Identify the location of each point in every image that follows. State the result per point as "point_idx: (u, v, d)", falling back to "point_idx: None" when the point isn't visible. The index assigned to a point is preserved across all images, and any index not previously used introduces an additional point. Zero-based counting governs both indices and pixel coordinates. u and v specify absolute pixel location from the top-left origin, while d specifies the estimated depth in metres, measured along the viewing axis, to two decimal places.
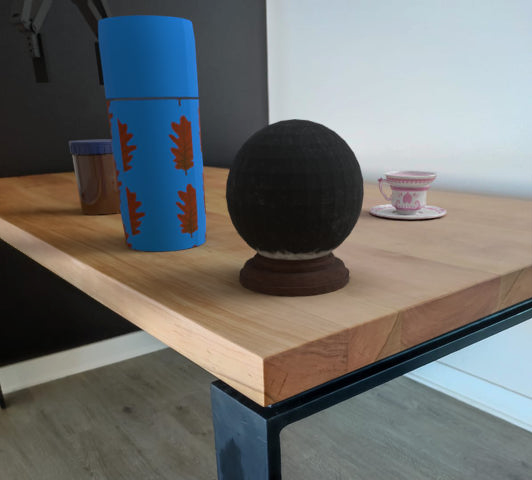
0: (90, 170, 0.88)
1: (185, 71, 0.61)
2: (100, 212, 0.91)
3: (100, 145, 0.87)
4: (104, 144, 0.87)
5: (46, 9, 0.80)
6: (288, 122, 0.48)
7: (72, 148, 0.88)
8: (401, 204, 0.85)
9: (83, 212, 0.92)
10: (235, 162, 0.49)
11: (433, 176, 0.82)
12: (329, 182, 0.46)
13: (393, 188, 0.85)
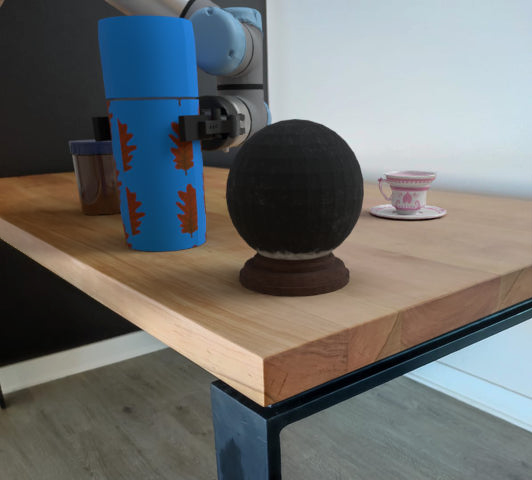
0: (90, 170, 0.88)
1: (185, 70, 0.61)
2: (100, 212, 0.91)
3: (100, 145, 0.87)
4: (104, 144, 0.87)
5: None
6: (288, 122, 0.48)
7: (72, 148, 0.88)
8: (401, 204, 0.85)
9: (83, 212, 0.92)
10: (235, 162, 0.49)
11: (433, 176, 0.82)
12: (329, 182, 0.46)
13: (393, 188, 0.85)
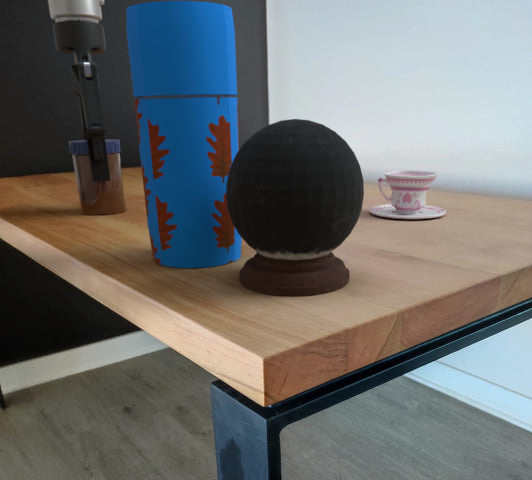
0: (90, 170, 0.88)
1: (225, 65, 0.54)
2: (100, 212, 0.91)
3: None
4: None
5: None
6: (288, 122, 0.48)
7: (72, 148, 0.88)
8: (401, 204, 0.85)
9: (83, 212, 0.92)
10: (235, 162, 0.49)
11: (433, 176, 0.82)
12: (329, 182, 0.46)
13: (393, 188, 0.85)
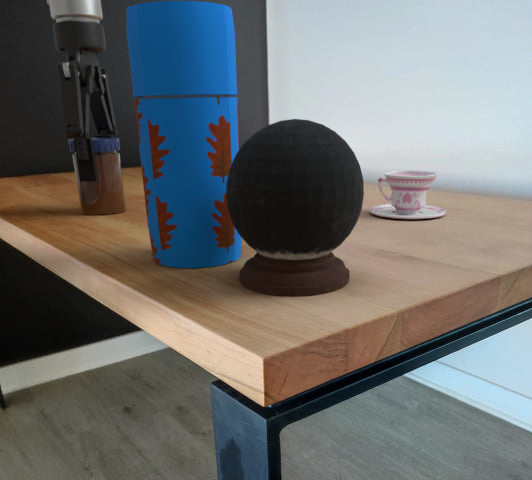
0: None
1: (225, 64, 0.54)
2: (100, 212, 0.91)
3: None
4: None
5: (92, 111, 0.91)
6: (288, 122, 0.48)
7: (119, 144, 0.91)
8: (401, 204, 0.85)
9: (83, 212, 0.92)
10: (235, 162, 0.49)
11: (433, 176, 0.82)
12: (329, 182, 0.46)
13: (393, 188, 0.85)
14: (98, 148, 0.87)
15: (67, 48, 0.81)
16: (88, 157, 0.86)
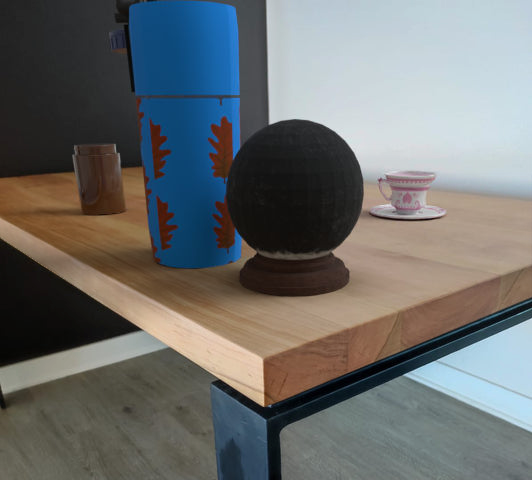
0: (90, 170, 0.88)
1: (228, 65, 0.53)
2: (100, 212, 0.91)
3: None
4: None
5: None
6: (288, 122, 0.48)
7: None
8: (401, 204, 0.85)
9: (83, 212, 0.92)
10: (235, 162, 0.49)
11: (433, 176, 0.82)
12: (329, 182, 0.46)
13: (393, 188, 0.85)
14: None
15: None
16: None
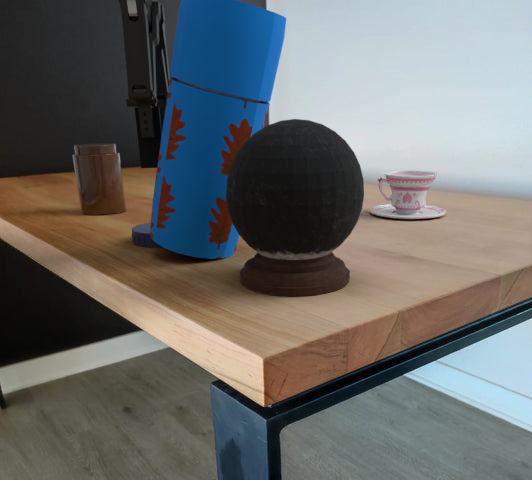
0: (90, 170, 0.88)
1: (261, 71, 0.54)
2: (100, 212, 0.91)
3: None
4: None
5: None
6: (288, 122, 0.48)
7: None
8: (401, 204, 0.85)
9: (83, 212, 0.92)
10: (235, 162, 0.49)
11: (433, 176, 0.82)
12: (329, 182, 0.46)
13: (393, 188, 0.85)
14: None
15: None
16: (155, 134, 0.62)
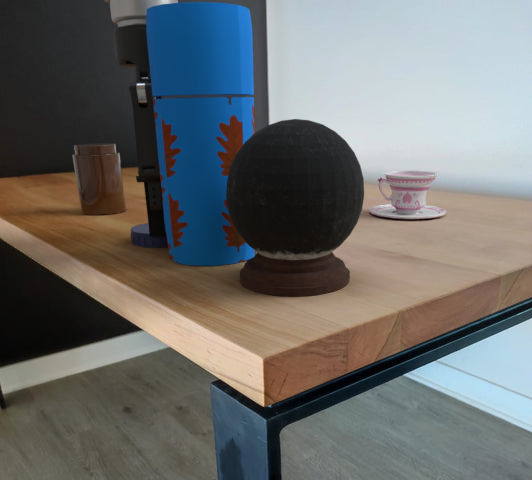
0: (90, 170, 0.88)
1: (237, 65, 0.54)
2: (100, 212, 0.91)
3: None
4: None
5: None
6: (289, 122, 0.48)
7: None
8: (401, 204, 0.85)
9: (83, 212, 0.92)
10: (235, 162, 0.49)
11: (433, 176, 0.82)
12: (330, 182, 0.46)
13: (393, 188, 0.85)
14: None
15: (137, 61, 0.60)
16: None
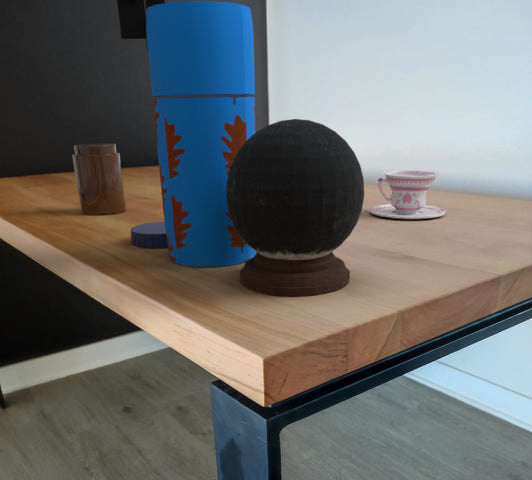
0: (90, 170, 0.88)
1: (241, 64, 0.54)
2: (100, 212, 0.91)
3: None
4: None
5: None
6: (289, 122, 0.48)
7: None
8: (401, 204, 0.85)
9: (83, 212, 0.92)
10: (235, 162, 0.49)
11: (433, 176, 0.82)
12: (330, 182, 0.46)
13: (393, 188, 0.85)
14: None
15: None
16: None
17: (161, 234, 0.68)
